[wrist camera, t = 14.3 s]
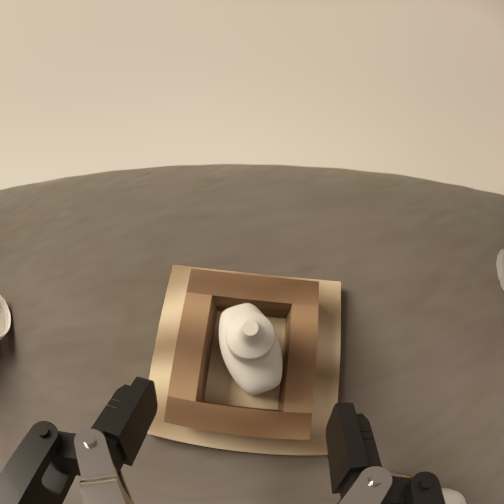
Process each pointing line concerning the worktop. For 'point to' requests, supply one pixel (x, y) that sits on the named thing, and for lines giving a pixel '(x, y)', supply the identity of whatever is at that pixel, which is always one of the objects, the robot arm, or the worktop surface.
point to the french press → (500, 267)
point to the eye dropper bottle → (250, 348)
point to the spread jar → (4, 318)
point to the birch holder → (221, 381)
